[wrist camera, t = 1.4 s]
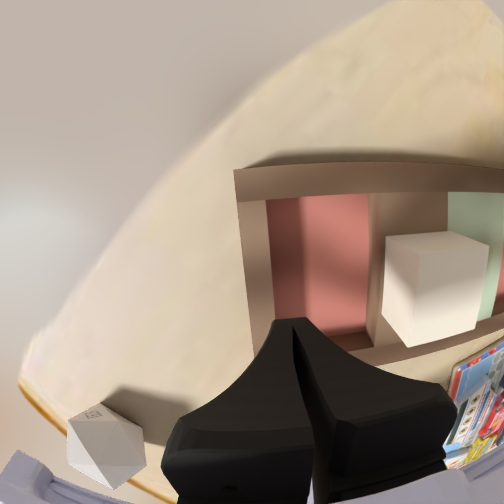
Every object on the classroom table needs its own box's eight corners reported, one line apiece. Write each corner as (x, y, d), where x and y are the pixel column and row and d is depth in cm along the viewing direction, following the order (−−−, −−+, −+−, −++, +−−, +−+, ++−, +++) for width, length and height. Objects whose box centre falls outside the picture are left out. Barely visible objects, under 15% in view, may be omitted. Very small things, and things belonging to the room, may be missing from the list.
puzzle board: (450, 361, 21) (462, 376, 18) (560, 289, 19) (572, 296, 16) (414, 484, 28) (418, 495, 26) (511, 427, 26) (517, 435, 24)
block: (442, 302, 16) (474, 328, 12) (381, 314, 16) (407, 347, 12) (450, 230, 15) (489, 245, 11) (385, 236, 15) (419, 254, 11)
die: (124, 382, 22) (38, 417, 15) (177, 458, 19) (93, 504, 12) (117, 402, 27) (50, 430, 20) (158, 462, 24) (92, 496, 17)
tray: (517, 306, 19) (531, 315, 16) (257, 360, 20) (257, 381, 18) (531, 174, 15) (548, 176, 13) (237, 170, 17) (233, 169, 14)
